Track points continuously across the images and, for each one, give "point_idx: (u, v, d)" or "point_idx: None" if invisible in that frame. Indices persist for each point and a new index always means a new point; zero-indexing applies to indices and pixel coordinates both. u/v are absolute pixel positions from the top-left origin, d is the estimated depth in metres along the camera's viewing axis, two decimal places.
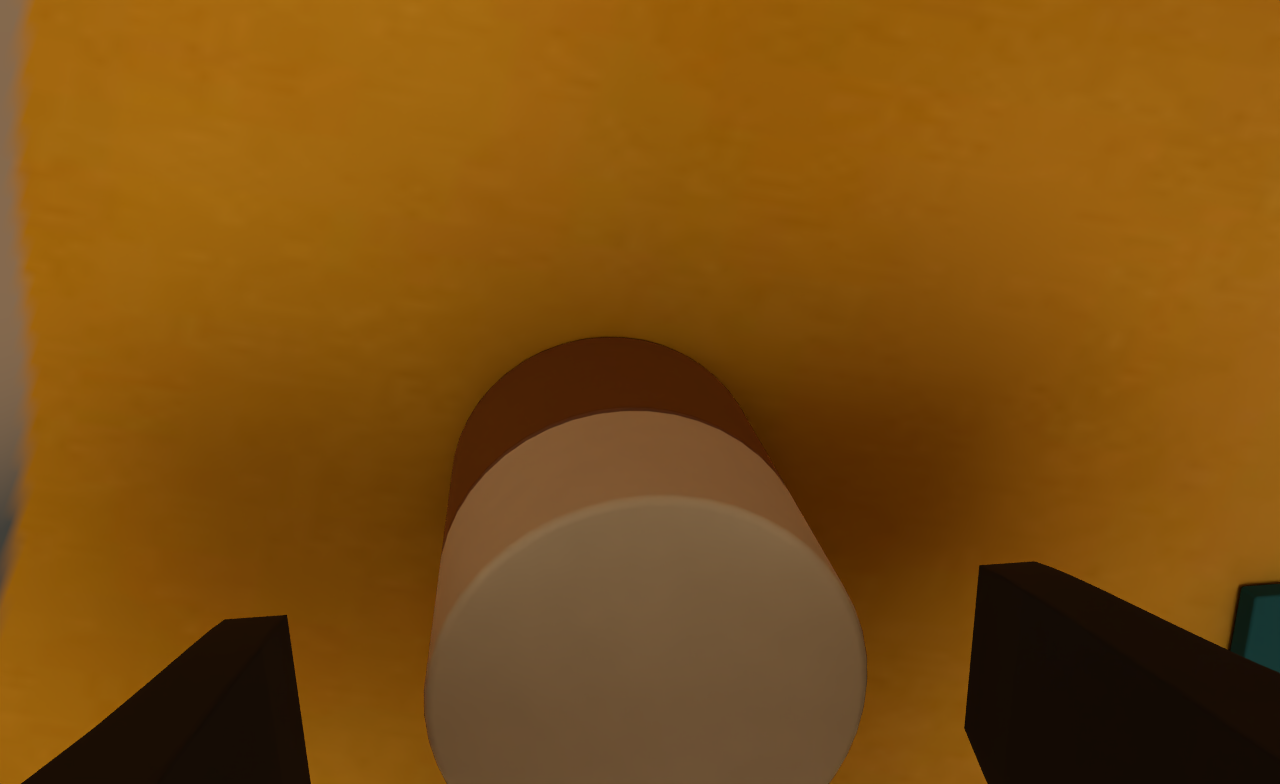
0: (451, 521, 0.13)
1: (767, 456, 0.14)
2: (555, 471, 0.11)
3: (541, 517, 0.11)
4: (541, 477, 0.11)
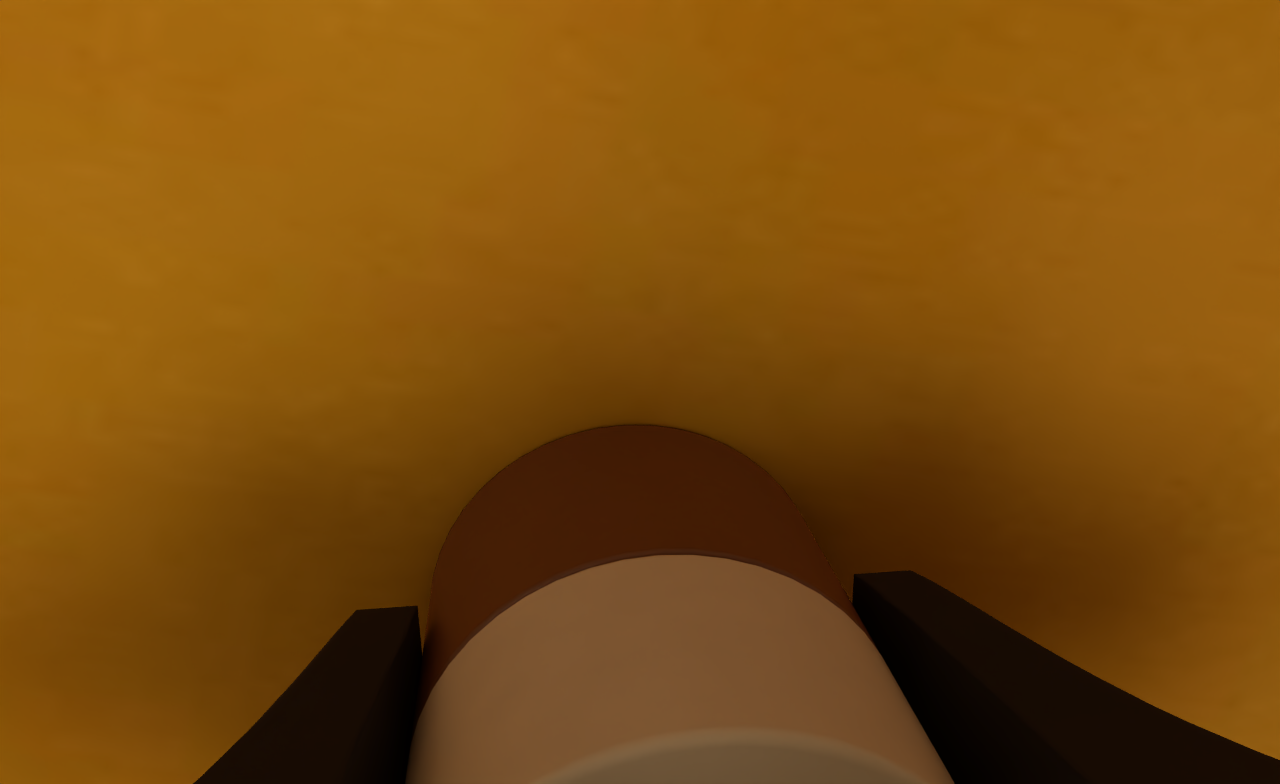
0: (423, 700, 0.10)
1: (847, 598, 0.10)
2: (567, 665, 0.08)
3: (549, 757, 0.07)
4: (546, 672, 0.08)
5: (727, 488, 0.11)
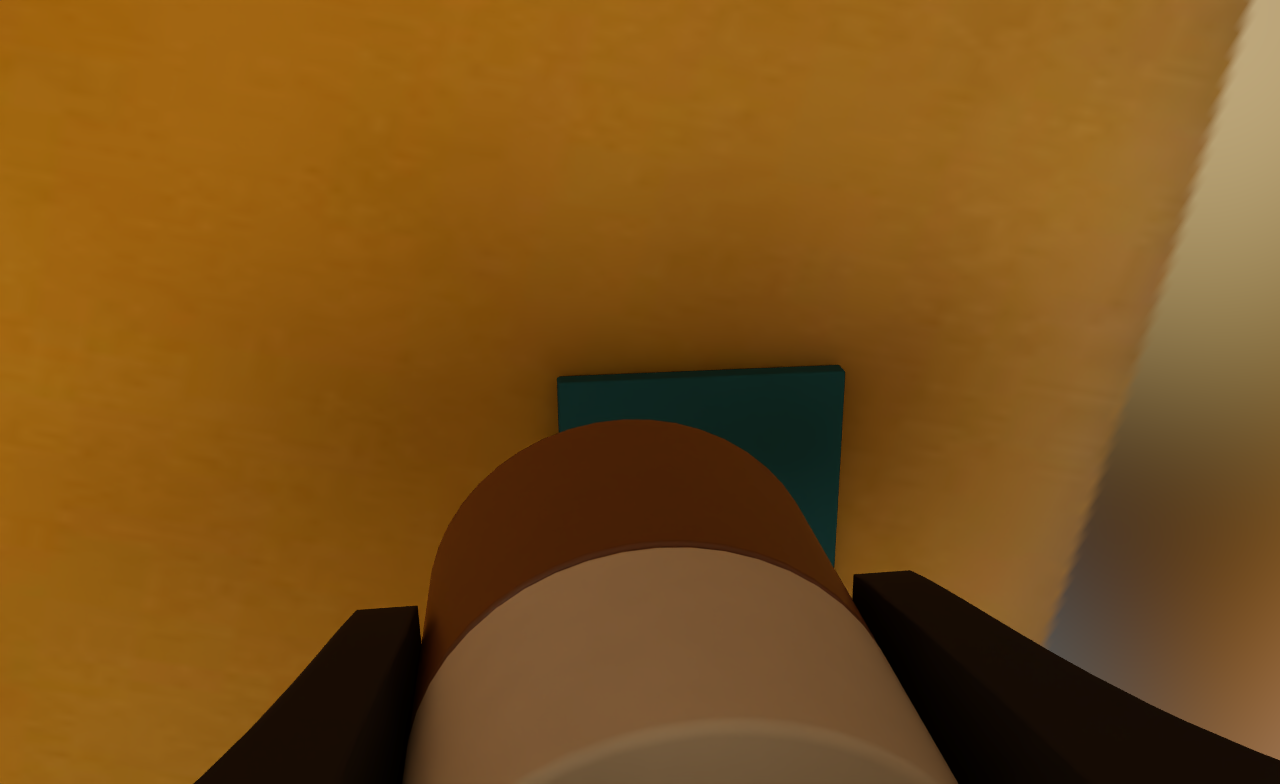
0: (421, 693, 0.10)
1: (846, 591, 0.10)
2: (565, 656, 0.08)
3: (545, 749, 0.07)
4: (545, 663, 0.08)
5: (726, 482, 0.11)
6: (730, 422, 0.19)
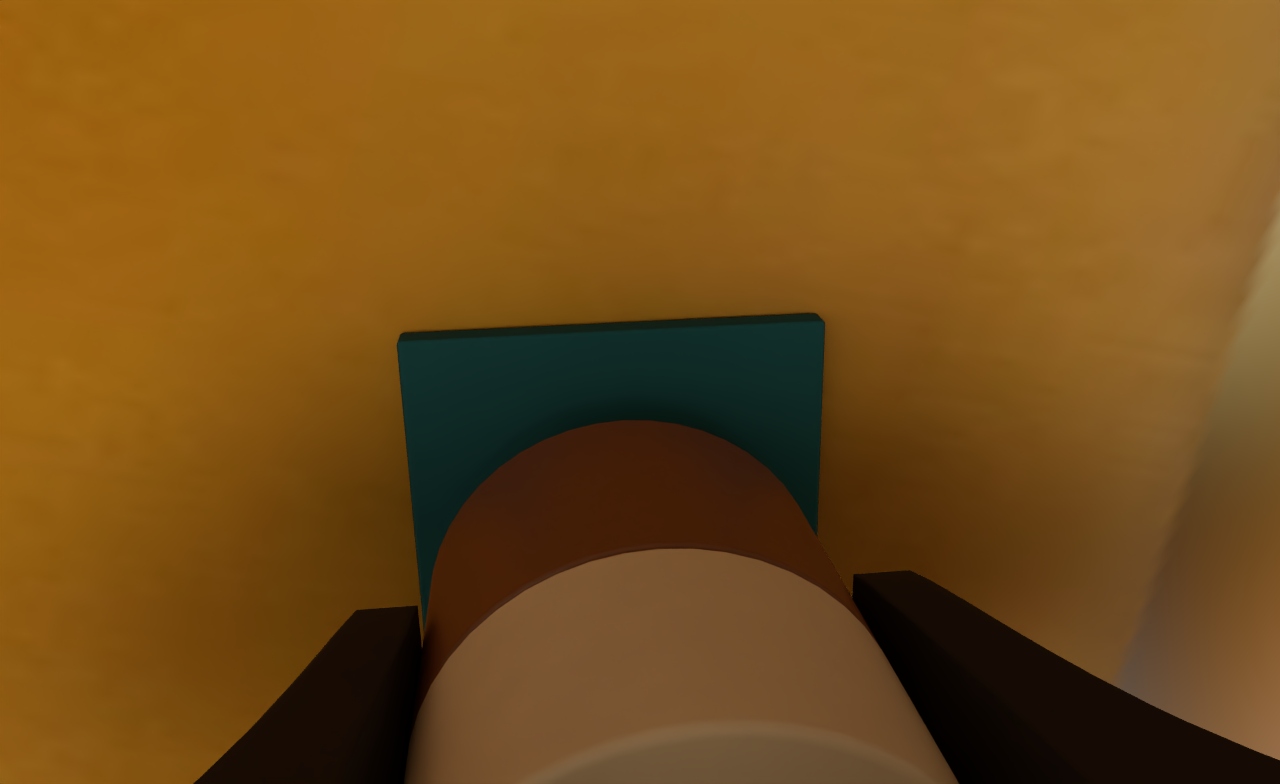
0: (423, 694, 0.10)
1: (847, 592, 0.10)
2: (567, 658, 0.08)
3: (547, 751, 0.07)
4: (548, 664, 0.08)
5: (727, 483, 0.11)
6: (656, 399, 0.13)
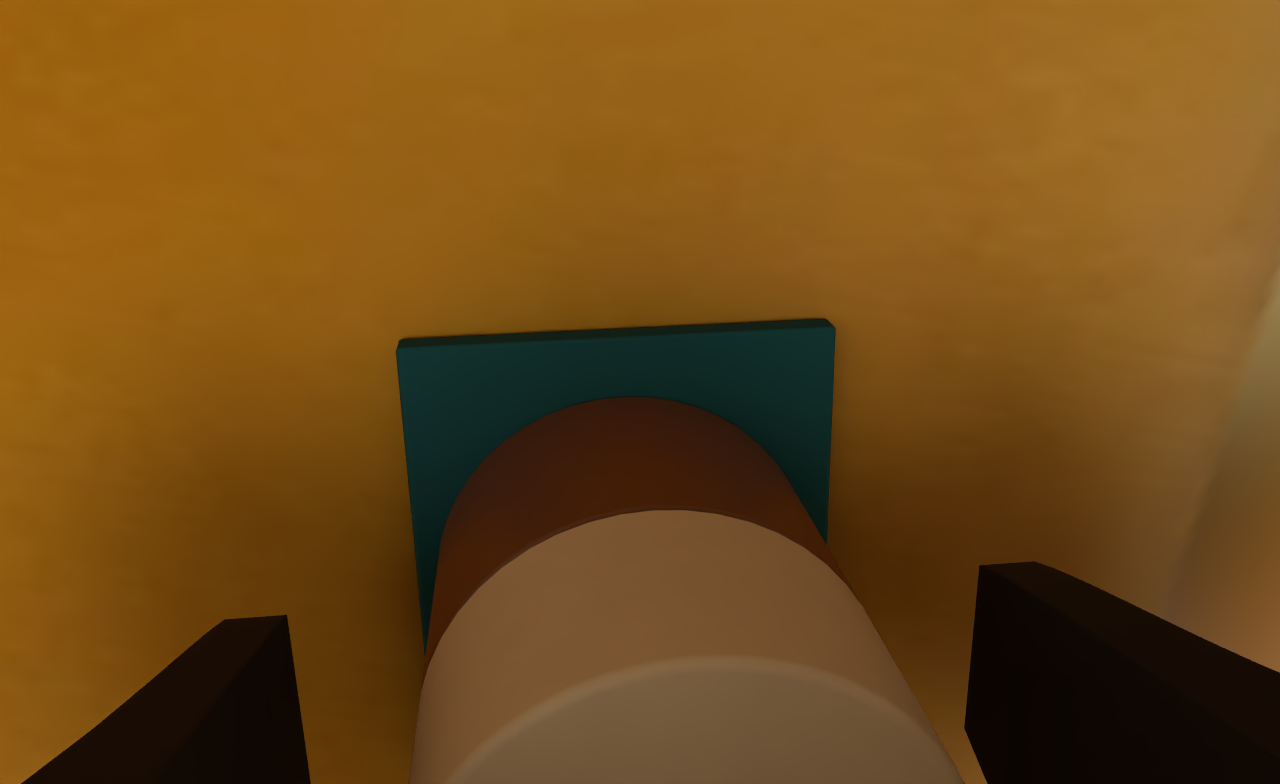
0: (433, 647, 0.10)
1: (831, 555, 0.11)
2: (568, 605, 0.09)
3: (549, 683, 0.08)
4: (550, 611, 0.09)
5: (719, 453, 0.12)
6: None
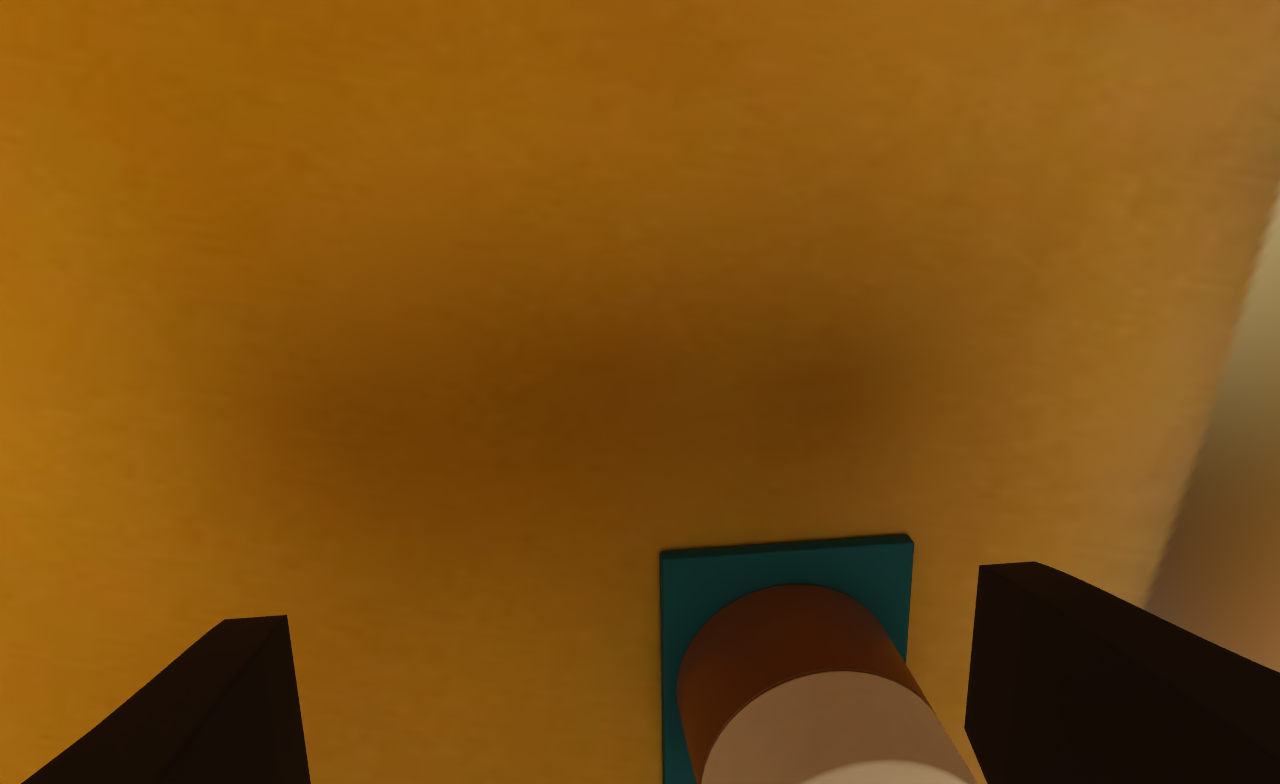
0: (711, 741, 0.19)
1: (918, 686, 0.20)
2: (802, 729, 0.18)
3: (806, 772, 0.17)
4: (792, 732, 0.18)
5: (853, 626, 0.20)
6: None
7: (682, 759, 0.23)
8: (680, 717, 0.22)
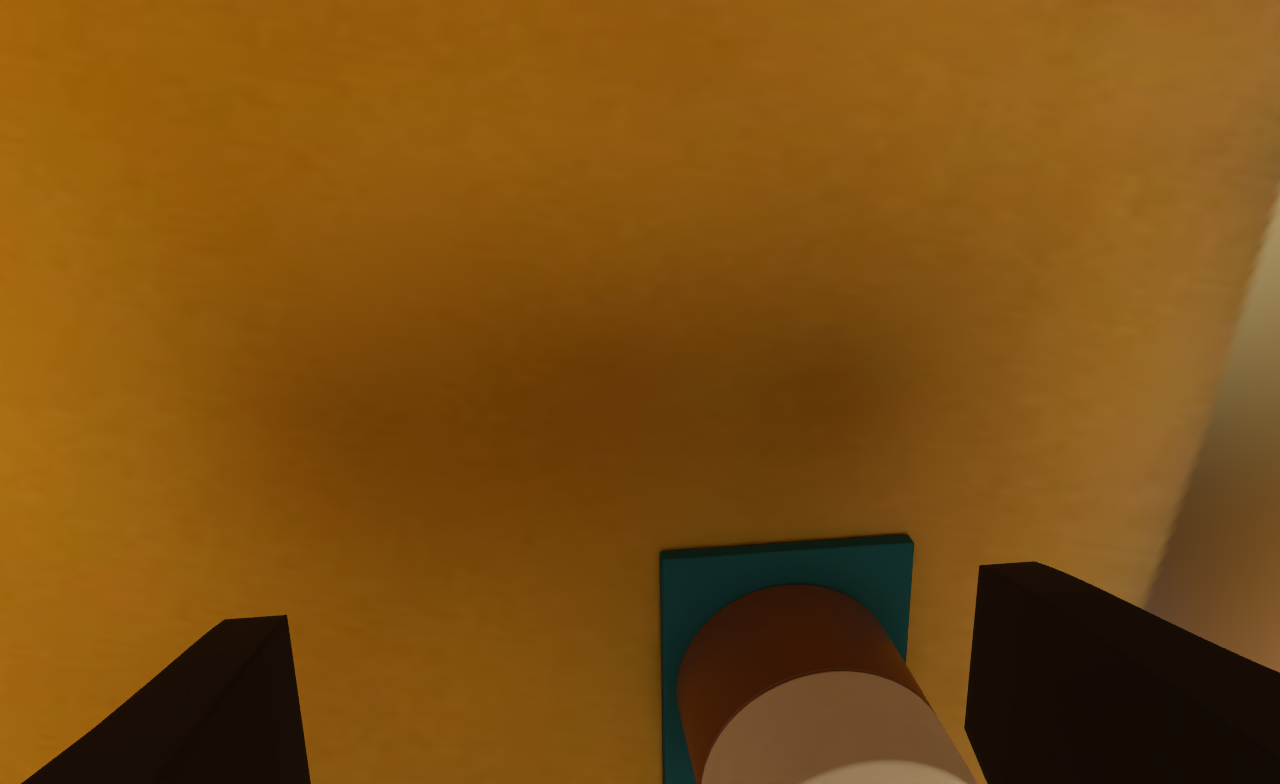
0: (711, 741, 0.19)
1: (918, 686, 0.20)
2: (802, 729, 0.18)
3: (806, 772, 0.17)
4: (792, 732, 0.18)
5: (853, 626, 0.20)
6: None
7: (682, 759, 0.23)
8: (680, 717, 0.22)
